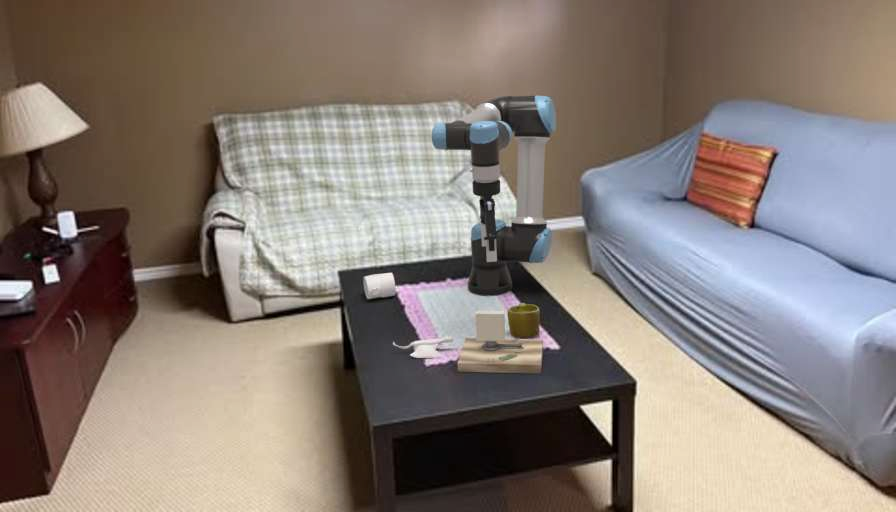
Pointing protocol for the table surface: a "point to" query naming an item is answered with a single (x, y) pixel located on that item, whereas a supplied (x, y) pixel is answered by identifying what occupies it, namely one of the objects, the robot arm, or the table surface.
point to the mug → (524, 320)
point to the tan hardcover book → (502, 357)
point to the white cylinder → (379, 285)
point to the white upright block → (491, 330)
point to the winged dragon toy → (426, 347)
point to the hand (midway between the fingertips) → (489, 253)
